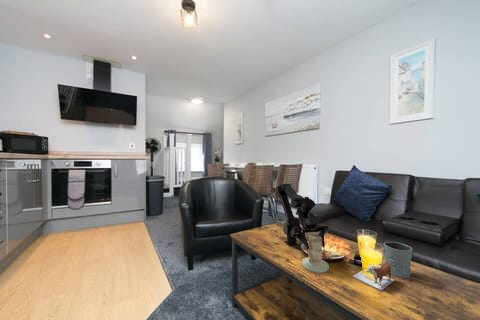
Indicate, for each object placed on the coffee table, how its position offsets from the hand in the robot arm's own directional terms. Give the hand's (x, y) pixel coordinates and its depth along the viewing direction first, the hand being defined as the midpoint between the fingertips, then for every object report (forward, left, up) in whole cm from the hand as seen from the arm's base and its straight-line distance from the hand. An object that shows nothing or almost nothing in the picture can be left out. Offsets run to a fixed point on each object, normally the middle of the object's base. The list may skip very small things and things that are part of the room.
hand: (316, 247), depth 92 cm
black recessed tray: (+2, +22, -10) cm, 25 cm away
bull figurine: (+17, +18, -9) cm, 26 cm away
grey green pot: (+13, +33, -9) cm, 37 cm away
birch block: (-1, 0, -8) cm, 8 cm away
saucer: (-1, 0, -9) cm, 9 cm away
